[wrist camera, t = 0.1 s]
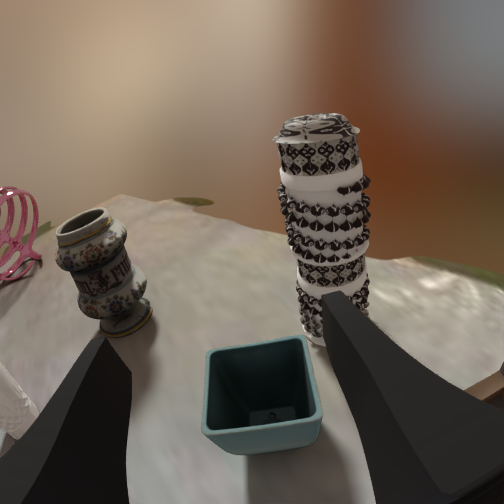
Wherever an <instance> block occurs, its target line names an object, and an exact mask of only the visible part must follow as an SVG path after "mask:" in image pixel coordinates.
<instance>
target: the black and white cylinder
mask: <svg viewBox="0 0 504 504" xmlns="http://www.w3.org/2000/svg"><path fill="white" fill-rule="evenodd" d="M358 132H360V130H359V129H358V128H356V127H353V126H352V125H351V124H350V123H349V121H348V120H347V119H346V117H344V116H343V115H341V114H335V113H324V114H312V115H306V116H300V117H296V118H292V119H289V120H287V121H286V122H285V123H284V124H283V126H282V128H281V130H280V133H279V135H278V136H276V137H275V138H274V139H273V141H275V142H276V143H277V146H278V149H279V152H278V154H279V159H280V162H281V165H282V166H281V169H280V175H281V180H282V181H281V183H280V187H279V188H278V190H277V192H278V193H279V200H280V201H281V207H282V208H281V213H282V214H283V215H286V220H285V225H286V226H287V227H286V232H287V233H288V237H289V238H288V244H289V245H290V249H291V251H292V253H293V255H294V257H295V258H297V259H296V260H297V265H298V268H297V277H298V279H297V285H298V286H297V287H296V290H297V292H298V293H299V295H300V296H299V297H298V301H299V302H300V308H299V312H300V314H301V315H302V316H301V323H302V324H303V326H302V328H303V331H304V333H305V335H306V337H307V338H308V339H309V340H311V341H312V342H313V343H314V344H317V345H320V346H323V347H326V345H325V342H324V338H323V321H322V302H321V295H323V294H327V293H331V292H335V291H339V290H340V291H342V292H343V293H344V294H345V295H346V296H347V297H348V298H349V299H350V300H351V301H352V302H353V304H354V305H355V306H356V307H357V308H358V309H359V310H360V311H361V312H362V313H363V314H364V315H365V316H366V317H367V316H368V315H369V313H368V312H367V310H366V309H365V308H367V306H369V302H367V298H368V295H369V290H368V285H369V283H370V281H369V279H368V278H367V277H368V274H367V268H366V261H365V251H366V249H367V248H368V246H369V241H368V238H369V233H370V231H369V229H368V228H367V227H366V226H365V225H364V223H367V222H368V221H369V218H370V216H371V214H370V212H369V211H368V210H367V208H366V207H368V206H369V204H370V198H369V197H368V196H367V195H365V194H364V193H362V192H361V190H364V189H365V188H367V187H368V186H369V184H370V179H369V178H368V177H366V176H365V175H364V174H363V172H362V162H361V160H360V158H359V156H358V152H359V150H358V144H357V133H358ZM360 182H361V183H360ZM285 189H286V190H287V193H286V194H285ZM288 208H290V212H289V211H288Z"/></svg>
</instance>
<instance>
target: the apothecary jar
mask: <svg viewBox="0 0 504 504" xmlns="http://www.w3.org/2000/svg"><path fill="white" fill-rule="evenodd" d="M56 236H57V239H58V247H57V249H56V253H55V260H56V262H57V264H58V266H59V267H60V268H61V269H63V270H65V271H69V272H70V273H71V275H72V277H73V279H74V281H75V283H76V286H77V288H78V290H79V292H78V305H79V308H80V310H81V311H82V312H83V313H84V314H85V315H86V316H88V317H90V318H94V319H101V321H100V330H101V332H102V333H103V334H104V335H106V336H108V337H113V338H116V337H122V336H126V335H128V334H131V333H133V332H135V331H136V330H138V329H139V328H140V327H142V326H143V325H144V324H145V323H146V322H147V320H148V319H149V318H150V316H151V313H152V307H150V306H149V301H148V300H147V299H145V298H142V296H143V294H144V292H145V289H146V284H147V281H146V276H145V274H144V272H143V271H142V270H141V269H140V268H138V267H137V266H135V265H132V263H131V261H130V259H129V257H128V254H127V252H126V249H125V247H124V243H125V241H126V237H127V231H126V228H125V226H124V225H123V223H121V222H120V221H118V220H116V219H113V218H111V216H110V215H109V214H108V212H107V210H106V209H105V208H95V209H91V210H88V211H85V212H83V213H80V214H78V215H76V216H74V217H73V218H71V219H69V220H67V221H66V222H64V223H63V224H62V225H61V226H60V227H59V228H58V229H57V231H56Z"/></svg>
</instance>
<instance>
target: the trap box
mask: <svg viewBox="0 0 504 504" xmlns="http://www.w3.org/2000/svg"><path fill="white" fill-rule="evenodd" d="M464 391H465V392H467V393H469V394H470V395H472V396H474V397H476V398H478V399H480V400H482V401H484V402H486V403H488V404H490V405H492V406H495V407H497V408H499V409H502V410H504V362H503V364H502V366H501V368H500V370H499V371H497V372H496V373H494V374H492V375H491V376H489V377H487V378H485V379H484V380H482V381H480V382H478V383H477V384H475V385H473V386H471V387H469V388H467V389H466V390H464Z"/></svg>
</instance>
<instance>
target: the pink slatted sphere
mask: <svg viewBox="0 0 504 504" xmlns="http://www.w3.org/2000/svg"><path fill="white" fill-rule="evenodd" d="M6 189H12V190H11V191H9V192H8V191H7V190H6ZM0 194H2V196H1V197H0V206H1V205H2V204H3V203H4V202H5V201H7V205H8V216H7V221H6V225H5V228H4V230H0V248H1V246H2V245H3V244H4V243H8V244H9V245H10V247H9V249H8V251H7V252H6V253H5V255H4V256H3V257H2V258H1V259H0V267H1V266H3V265H4V264H5V263H6V262H7V261H8V260H9V259H10V258H11V257H12V255H13V254H14V253H15V252H16V251H19V252H20V253H21V254H20V257H19V258H18V260H17V261H16V262H15V263H14V264H13V265H12V266H11V267H10V268H9V269H8V270H7V271H5V272H4V273H1V274H0V280H3V281H13V280H17V279H19V278H21V277H22V276H24V275H25V274H26V273H27V272H28V271H29V270H30V268H31V267H32V265H33V263H34V260H33V261H32V262H31V263H30V264H29V266H28V267H27V268H26V269H25V270H24V271H23V272H22V273H21V274H19V275H18V276H16V277H13V278H6V277H7V276H9V275H11V274H12V273H13V272H15V271H16V270H17V269H18V268H19V266H20V265H21V264H22V263H23V261H24V260H25V259H26V258H27V257H31V258H33V259H36V260H40V259H41V258H42V255H41V254H38V253H36V252H34V251H33V250H32V244H33V242H34V239H35V236H36V232H37V227H38V217H39V213H38V206H37V203H36V200H35V199H34V197H33V196H32V195H31V194H30V193H29V192H27V191H25V190H21V189H18V188H16V187H13V186H4V187H1V188H0ZM24 194H26V195H28V196H29V197H30V199H31V201H32V205H33V213H34V215H33V225H32V230H31V233H30V236H29V239H28V242H27V243H26V244H25V245H23V244H22V243H21V240H22V237H23V234H24V231H25V227H26V223H27V216H28V206H27V201H26V198H25V196H24ZM14 195H18V196H19V198H20V201H21V207H22V214H21V222H20V226H19V229H18V232H17V235H16V236H15V238H12V237H10V235H9V233H10V230H11V227H12V224H13V220H14V212H15V209H14V202H13V198H12V196H14ZM0 215H1V208H0Z"/></svg>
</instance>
